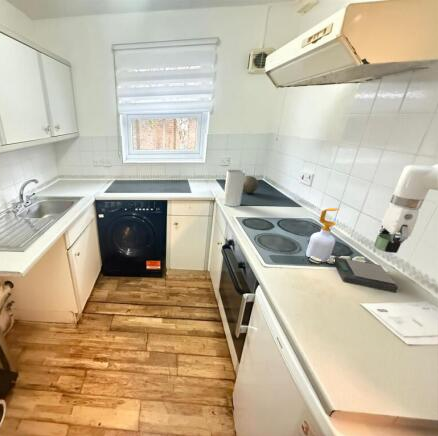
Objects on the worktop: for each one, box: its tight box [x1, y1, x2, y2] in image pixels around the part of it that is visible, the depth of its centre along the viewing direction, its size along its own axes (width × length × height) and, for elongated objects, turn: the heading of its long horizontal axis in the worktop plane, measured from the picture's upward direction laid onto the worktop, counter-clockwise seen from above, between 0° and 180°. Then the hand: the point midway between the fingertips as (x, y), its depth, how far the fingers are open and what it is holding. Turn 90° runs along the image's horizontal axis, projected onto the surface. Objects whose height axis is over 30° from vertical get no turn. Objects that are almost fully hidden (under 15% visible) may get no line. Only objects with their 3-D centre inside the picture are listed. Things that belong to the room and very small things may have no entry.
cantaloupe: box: [242, 175, 259, 195], centre depth 202 cm, size 14×14×15 cm
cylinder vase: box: [222, 169, 246, 208], centre depth 175 cm, size 12×12×25 cm
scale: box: [333, 256, 399, 294], centre depth 97 cm, size 16×16×3 cm
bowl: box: [373, 233, 401, 253], centre depth 88 cm, size 6×6×5 cm
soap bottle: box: [305, 207, 339, 263], centre depth 106 cm, size 9×9×25 cm
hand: (385, 246), depth 88 cm, fingers closed on bowl, 6 cm apart
